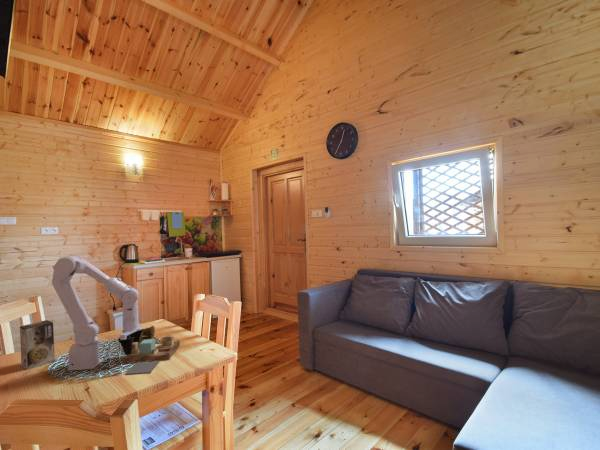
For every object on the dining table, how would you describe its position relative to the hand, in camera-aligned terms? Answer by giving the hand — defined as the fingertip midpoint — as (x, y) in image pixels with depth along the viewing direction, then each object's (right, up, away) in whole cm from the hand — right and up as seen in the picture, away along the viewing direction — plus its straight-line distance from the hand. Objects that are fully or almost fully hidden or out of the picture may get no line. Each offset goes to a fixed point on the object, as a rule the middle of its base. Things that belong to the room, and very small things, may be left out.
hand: (131, 350), depth 126 cm
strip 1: (+4, -2, 0) cm, 4 cm away
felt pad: (+10, -3, -9) cm, 14 cm away
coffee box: (-36, -4, -3) cm, 37 cm away
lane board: (+7, -3, +4) cm, 8 cm away
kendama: (-7, -4, +20) cm, 21 cm away
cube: (+6, -1, +1) cm, 6 cm away
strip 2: (+8, -2, +7) cm, 11 cm away
